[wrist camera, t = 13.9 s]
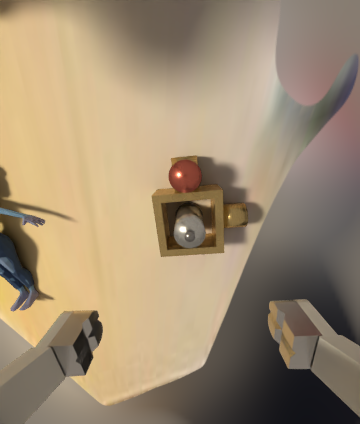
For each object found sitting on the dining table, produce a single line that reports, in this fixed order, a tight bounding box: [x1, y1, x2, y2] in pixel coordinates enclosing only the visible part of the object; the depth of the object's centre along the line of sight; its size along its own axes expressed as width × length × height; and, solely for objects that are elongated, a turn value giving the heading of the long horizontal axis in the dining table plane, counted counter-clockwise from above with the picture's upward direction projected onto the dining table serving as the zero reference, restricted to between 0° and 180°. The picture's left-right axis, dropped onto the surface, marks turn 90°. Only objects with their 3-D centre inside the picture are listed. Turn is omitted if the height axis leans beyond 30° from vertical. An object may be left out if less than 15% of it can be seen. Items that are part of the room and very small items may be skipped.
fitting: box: [152, 156, 248, 257], centre depth 27 cm, size 14×15×6 cm
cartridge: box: [174, 202, 206, 248], centre depth 27 cm, size 5×5×9 cm
